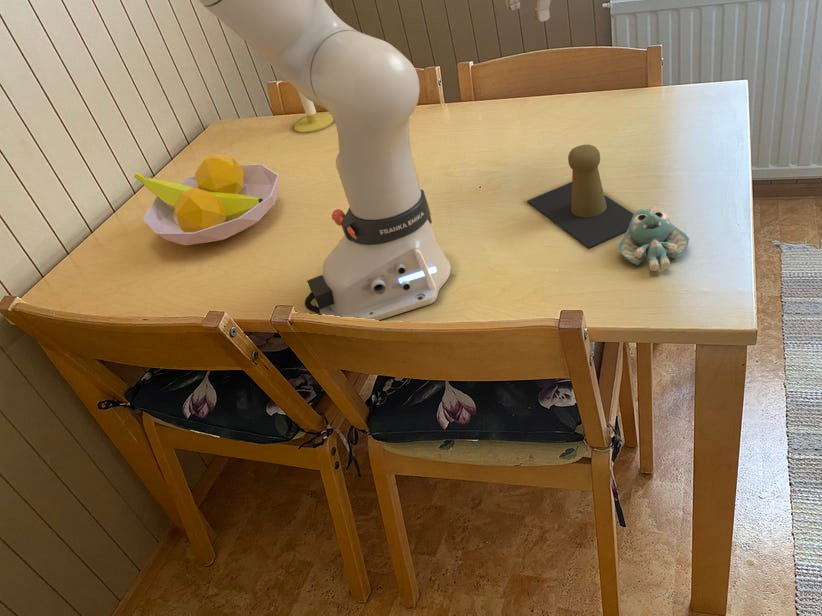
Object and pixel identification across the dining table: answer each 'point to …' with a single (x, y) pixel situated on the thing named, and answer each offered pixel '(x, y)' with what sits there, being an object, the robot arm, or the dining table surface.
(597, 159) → the cork
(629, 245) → the stuffed animal
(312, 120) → the candle
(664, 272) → the dining table surface
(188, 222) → the fruit bowl
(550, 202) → the mat
